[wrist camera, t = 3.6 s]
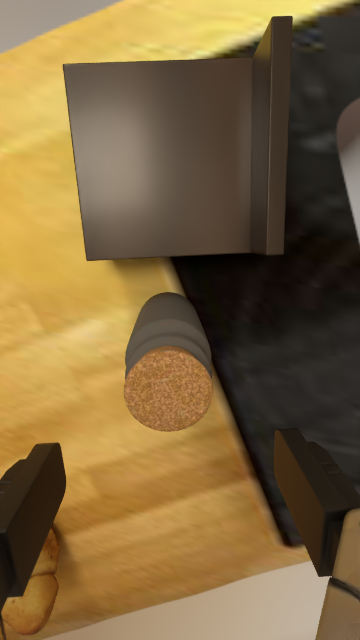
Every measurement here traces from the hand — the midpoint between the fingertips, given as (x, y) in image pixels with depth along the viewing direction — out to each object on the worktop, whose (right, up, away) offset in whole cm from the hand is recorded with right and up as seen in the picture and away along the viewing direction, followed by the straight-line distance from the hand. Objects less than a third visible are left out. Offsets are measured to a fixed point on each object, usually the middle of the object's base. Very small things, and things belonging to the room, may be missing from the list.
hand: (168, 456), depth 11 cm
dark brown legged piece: (0, +18, +16) cm, 24 cm away
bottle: (-1, +5, +19) cm, 20 cm away
